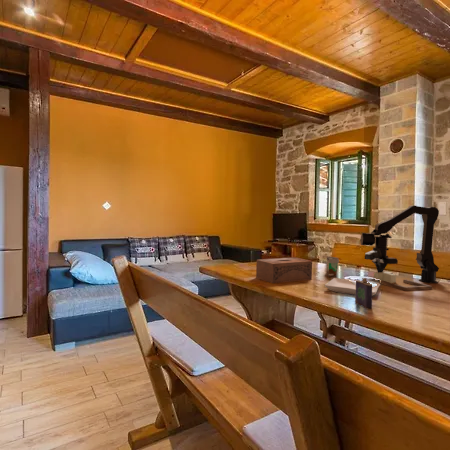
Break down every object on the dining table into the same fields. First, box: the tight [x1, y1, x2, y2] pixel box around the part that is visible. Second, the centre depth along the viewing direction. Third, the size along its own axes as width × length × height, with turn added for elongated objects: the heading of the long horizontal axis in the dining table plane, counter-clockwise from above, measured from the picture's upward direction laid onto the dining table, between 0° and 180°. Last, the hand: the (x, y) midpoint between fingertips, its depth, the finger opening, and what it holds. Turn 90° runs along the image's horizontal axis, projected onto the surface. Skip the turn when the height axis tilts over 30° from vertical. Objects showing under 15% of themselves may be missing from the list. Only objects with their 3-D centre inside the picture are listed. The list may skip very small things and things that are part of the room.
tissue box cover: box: [255, 257, 313, 284], centre depth 170 cm, size 26×14×10 cm, turn 118°
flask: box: [354, 277, 373, 310], centre depth 122 cm, size 9×3×11 cm, turn 8°
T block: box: [373, 271, 397, 284], centre depth 169 cm, size 10×8×4 cm
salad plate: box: [324, 277, 381, 297], centre depth 147 cm, size 21×21×3 cm
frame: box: [380, 279, 433, 292], centre depth 158 cm, size 16×16×2 cm
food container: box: [325, 256, 340, 278], centre depth 182 cm, size 12×6×10 cm, turn 168°
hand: (379, 274), depth 174 cm, fingers closed
